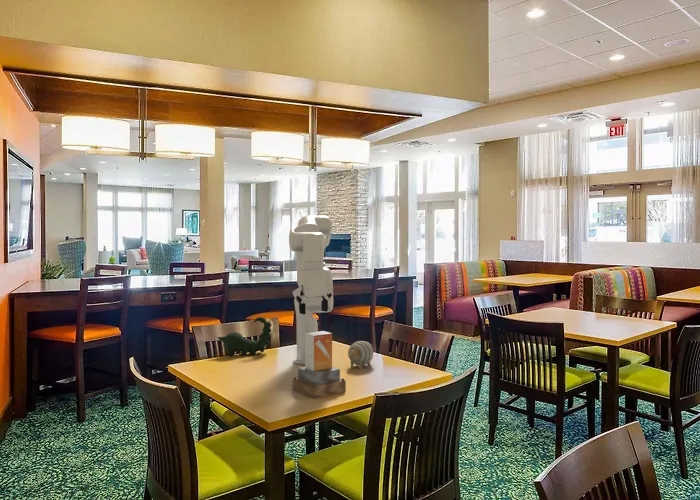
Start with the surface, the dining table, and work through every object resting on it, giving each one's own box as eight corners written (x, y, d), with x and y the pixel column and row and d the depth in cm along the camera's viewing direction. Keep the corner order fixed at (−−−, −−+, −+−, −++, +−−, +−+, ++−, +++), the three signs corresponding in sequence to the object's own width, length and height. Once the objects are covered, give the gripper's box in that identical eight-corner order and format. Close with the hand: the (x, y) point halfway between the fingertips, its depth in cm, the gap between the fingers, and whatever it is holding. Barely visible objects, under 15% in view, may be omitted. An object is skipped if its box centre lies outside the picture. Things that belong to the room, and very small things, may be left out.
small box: (313, 371, 183) (313, 335, 183) (304, 368, 188) (304, 332, 188) (332, 368, 188) (332, 332, 188) (323, 364, 193) (323, 330, 193)
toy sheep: (341, 369, 218) (341, 343, 217) (358, 360, 233) (358, 336, 232) (364, 372, 213) (363, 345, 213) (380, 363, 228) (380, 338, 228)
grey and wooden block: (324, 382, 198) (324, 362, 197) (345, 391, 186) (345, 369, 186) (292, 389, 189) (292, 367, 189) (313, 398, 178) (312, 375, 178)
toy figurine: (267, 354, 255) (215, 353, 248) (270, 316, 255) (218, 314, 248) (270, 358, 246) (216, 357, 239) (273, 318, 246) (219, 316, 239)
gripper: (326, 264, 197) (327, 309, 198) (287, 266, 187) (288, 313, 187) (338, 265, 191) (338, 311, 192) (298, 268, 181) (299, 316, 181)
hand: (313, 312), depth 190 cm, fingers open, 9 cm apart
